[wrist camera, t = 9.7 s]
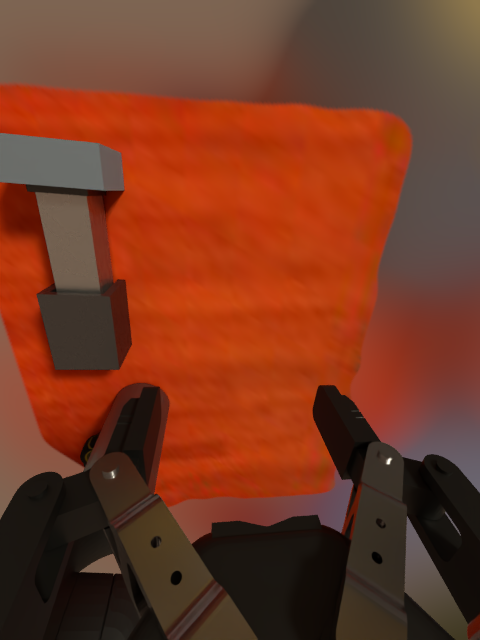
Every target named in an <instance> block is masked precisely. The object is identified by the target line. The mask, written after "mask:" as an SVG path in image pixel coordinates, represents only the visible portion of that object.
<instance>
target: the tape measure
mask: <svg viewBox="0 0 480 640" xmlns="http://www.w3.org/2000/svg"><path fill="white" fill-rule="evenodd" d="M98 437H99V434H98V435H94V436H92V437H91V438H89V439H88V440H87V442H86V443H85V445H84V447H83V449H82V452H81V455H80V458H81V461H82V462H83V463H84V466H86V464H87V462H88V459H89V457H90V455H91V453H92V450H93V448H94V446H95V443H96V441H97V439H98Z"/></svg>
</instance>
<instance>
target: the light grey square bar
mask: <svg viewBox="0 0 480 640" xmlns="http://www.w3.org/2000/svg"><path fill="white" fill-rule="evenodd" d="M26 187H27V191H29V192H35V194H36V198H37V203H38V207H39V212H40V217H41V221H42V226H43V230H44V235H45V240H46V244H47V249H48V253H49V258H50V263H51V267H52V272H53V276H54V281H55V286H56V290H57V292H60V293H89V294H104V293H105V292H106V291H107V290H108V289H109V288H110V287H111V286H112V285H113V284H114V283H113V275H112V267H111V259H110V250H109V242H108V234H107V226H106V218H105V210H104V202H103V195H106V191H104V190H91V189H79V188H67V187H55V186H43V185H30V184H26Z"/></svg>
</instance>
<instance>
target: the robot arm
mask: <svg viewBox="0 0 480 640" xmlns="http://www.w3.org/2000/svg"><path fill="white" fill-rule="evenodd" d="M168 411H169V399H168V397H167V395H166V394H165V393H164V392H163V391H162V390H161V389H160V387H156V386H153V385H150V384H146V383H137V384H132V385H129V386H127V387H125V388H123V389H122V390H121V391H120V392H119V393H118V394H117V396H116V398H115V401H114V403H113V405H112V408H111V410H110V412H109V414H108V416H107V419H106V421H105V423H104V425H103V428H102V430H101V432H100V434H99V437H98V439H97V441H96V443H95V446H94V448H93V450H92V453H91V455H90V457H89V459H88V462H87V464H86V466H85V468H84V471H83V472H82V473H79V474H76V475H73V476H70V477H66V478H64V479H62V477H61V475H59V474H58V473H55V472H45V473H41V474H38V475H36V476H34V477H32V478H30V479H29V480H27V481H26V482H25V483H23V484H22V485H21V486H20V488H19V489H18V490H17V491H16V493H15V494H14V496H13V498H12V500H11V501H10V503H9V505H8V507H7V508H6V510H5V512H4V514H3V515H2V517H1V519H0V640H455V639H454V638H453V637H452V636H451V635H449V634H448V633H447V632H446V631H445V630H444V629H443V628H442V627H441V626H440V625H439V624H438V623H437V622H436V621H435V620H434V619H433V618H432V617H431V616H429V615H428V614H427V613H426V612H425V611H424V610H423V609H422V608H421V607H420V606H419V605H418V604H417V603H416V602H415V601H413V599H412V598H411V597H409V596H408V595H407V594H406V593H405V592H404V590H405V558H406V557H405V556H406V525H407V516H408V518H409V519H410V521H411V523H412V525H413V527H414V529H415V530H416V532H417V534H418V535H419V538H420V539H421V541H422V543H423V545H424V546H425V548H426V550H427V552H428V553H429V555H430V557H431V559H432V561H433V562H434V564H435V566H436V568H437V570H438V571H439V573H440V575H441V576H442V579H443V580H444V582H445V584H446V586H447V587H448V589H449V591H450V593H451V595H452V596H453V598H454V600H455V602H456V603H457V605H458V607H459V609H460V611H461V612H462V614H463V616H464V618H465V619H466V621H467V623H468V628H467V635H468V640H480V493H479V492H478V491H477V489H476V488H475V487H474V486H473V485H472V483H471V482H470V481H469V480H468V479H467V477H466V476H465V475H464V474H463V473H462V472H461V470H460V469H459V468H458V467H457V466H456V465H455V464H453V463H452V462H450V461H449V460H448V459H446V458H444V457H441V456H439V455H434V454H431V455H427V456H425V458H424V460H423V461H422V462H420V461H416V460H412V459H408V458H404V457H402V456H401V455H400V453H399V452H398V451H397V450H396V449H395V448H393V447H392V446H390V445H388V444H386V443H382V442H381V441H380V440H379V438H378V437H377V435H376V434H375V432H374V431H373V430H372V428H371V427H370V425H369V424H368V422H367V421H366V419H365V418H364V417H363V415H362V414H361V412H359V409H358V408H357V406H356V405H355V404H354V402H353V401H352V400H350V399H349V398H348V397H347V396H345V395H341V394H340V392H339V391H338V389H337V388H336V386H334V385H320V386H319V387H318V389H317V393H316V397H315V401H314V406H313V418H314V421H315V423H316V425H317V427H318V430H319V432H320V434H321V436H322V438H323V440H324V442H325V445H326V447H327V449H328V451H329V453H330V455H331V457H332V460H333V462H334V464H335V466H336V468H337V470H338V472H339V474H340V477H341V479H342V480H343V479H344V480H345V479H351V480H352V481H353V487H352V491H351V495H350V500H349V504H348V508H347V512H346V517H345V522H344V525H343V529H342V532H341V533H340V532H338V531H336V530H334V529H332V528H330V527H327V526H325V525H321V523H320V520H319V518H318V515H310V516H297V517H291V518H288V519H286V520H284V521H281V522H279V523H276V524H274V525H271V526H267V527H266V526H261V525H256V524H251V523H247V522H242V521H230V522H217V523H212V531H211V533H209V534H206V535H204V536H203V537H201V538H199V539H198V540H196V541H195V542H194V543H193V544H191V543H190V541H189V540H188V538H187V537H186V535H185V534H184V532H183V531H182V529H181V528H180V526H179V525H178V523H177V522H176V520H175V519H174V517H173V515H172V514H171V512H170V511H169V510H168V508H167V506H166V505H165V503H164V502H163V500H162V499H161V497H160V496H159V495H158V494H155V495H154V492H155V486H156V480H157V474H158V468H159V463H160V457H161V451H162V445H163V440H164V434H165V428H166V423H167V417H168ZM445 512H447V514H448V515H449V517H450V518H451V519H452V521H453V522H454V524H455V525H456V527H457V528H458V530H459V532H460V534H461V536H460V535H459V533H458V532H457V530H456V529H455V527H454V526H453V524H452V523H451V521H450V520H449V519H448V517H447V515H446V514H445ZM110 554H114V556H115V559H116V561H117V563H118V565H119V568H120V570H121V573H122V574H115V575H114V576H113V574H111V573H86V572H81V573H80V571H81V570H82V569H84V568H85V567H87V566H88V565H90V564H91V563H93V562H95V561H96V560H98V559H100V558H102V557H105V556H107V555H110Z"/></svg>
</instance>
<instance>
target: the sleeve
mask: <svg viewBox="0 0 480 640" xmlns="http://www.w3.org/2000/svg"><path fill="white" fill-rule="evenodd" d="M37 298H38V302H39V306H40V310H41V314H42V318H43V322H44V326H45V330H46V334H47V338H48V342H49V346H50V350H51V354H52V358H53V362H54V366H55V370H119V369H120V367H121V365H122V363H123V361H124V359H125V357H126V355H127V353H128V351H129V349H130V347H131V345H132V341H131V331H130V321H129V312H128V302H127V292H126V283H125V280H119V279H118V280H117V281H116V282H115V283H114V284H113V285H112V286H111V287H110V288H109V289H108V290H107V291H106V292H105V293H104V294H89V293H60V292H57V290H56V286H55V283H54V284H52V285H51V286H49V287H47V288H46V289H44V290H42V291H41V292H39V293H38V294H37Z"/></svg>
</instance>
